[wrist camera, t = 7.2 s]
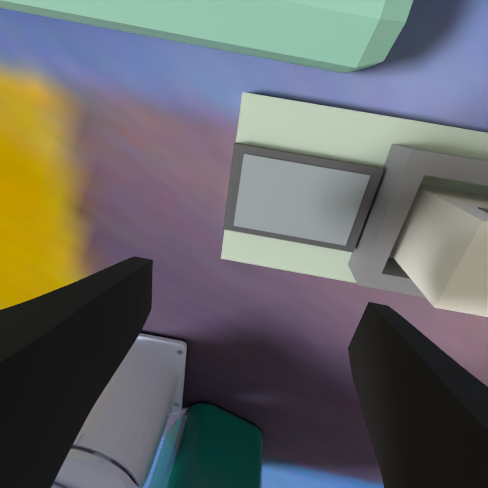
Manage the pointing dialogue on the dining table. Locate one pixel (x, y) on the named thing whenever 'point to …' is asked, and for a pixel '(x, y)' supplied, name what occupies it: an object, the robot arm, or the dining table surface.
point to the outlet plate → (337, 187)
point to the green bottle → (210, 451)
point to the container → (250, 25)
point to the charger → (447, 248)
